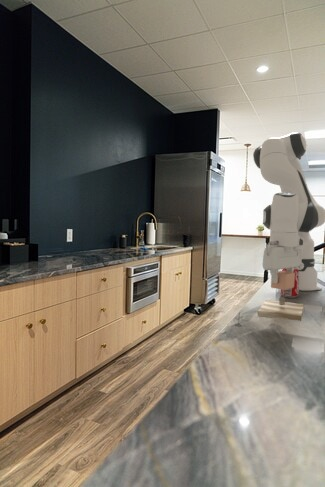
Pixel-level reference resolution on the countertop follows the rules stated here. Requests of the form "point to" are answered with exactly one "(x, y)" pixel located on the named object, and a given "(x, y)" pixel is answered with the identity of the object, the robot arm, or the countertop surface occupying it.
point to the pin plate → (282, 309)
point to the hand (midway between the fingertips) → (281, 281)
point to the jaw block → (284, 280)
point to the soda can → (295, 290)
